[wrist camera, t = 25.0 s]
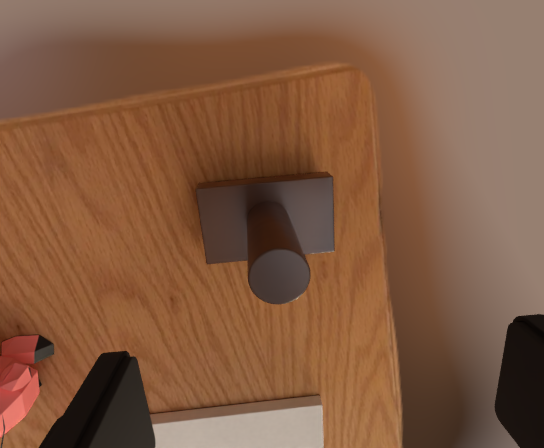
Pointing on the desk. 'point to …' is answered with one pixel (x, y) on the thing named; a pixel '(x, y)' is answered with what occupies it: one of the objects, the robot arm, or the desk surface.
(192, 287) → the desk surface
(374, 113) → the desk surface
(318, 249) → the stamp
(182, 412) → the tile
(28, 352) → the cat figurine
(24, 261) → the desk surface
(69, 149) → the desk surface
